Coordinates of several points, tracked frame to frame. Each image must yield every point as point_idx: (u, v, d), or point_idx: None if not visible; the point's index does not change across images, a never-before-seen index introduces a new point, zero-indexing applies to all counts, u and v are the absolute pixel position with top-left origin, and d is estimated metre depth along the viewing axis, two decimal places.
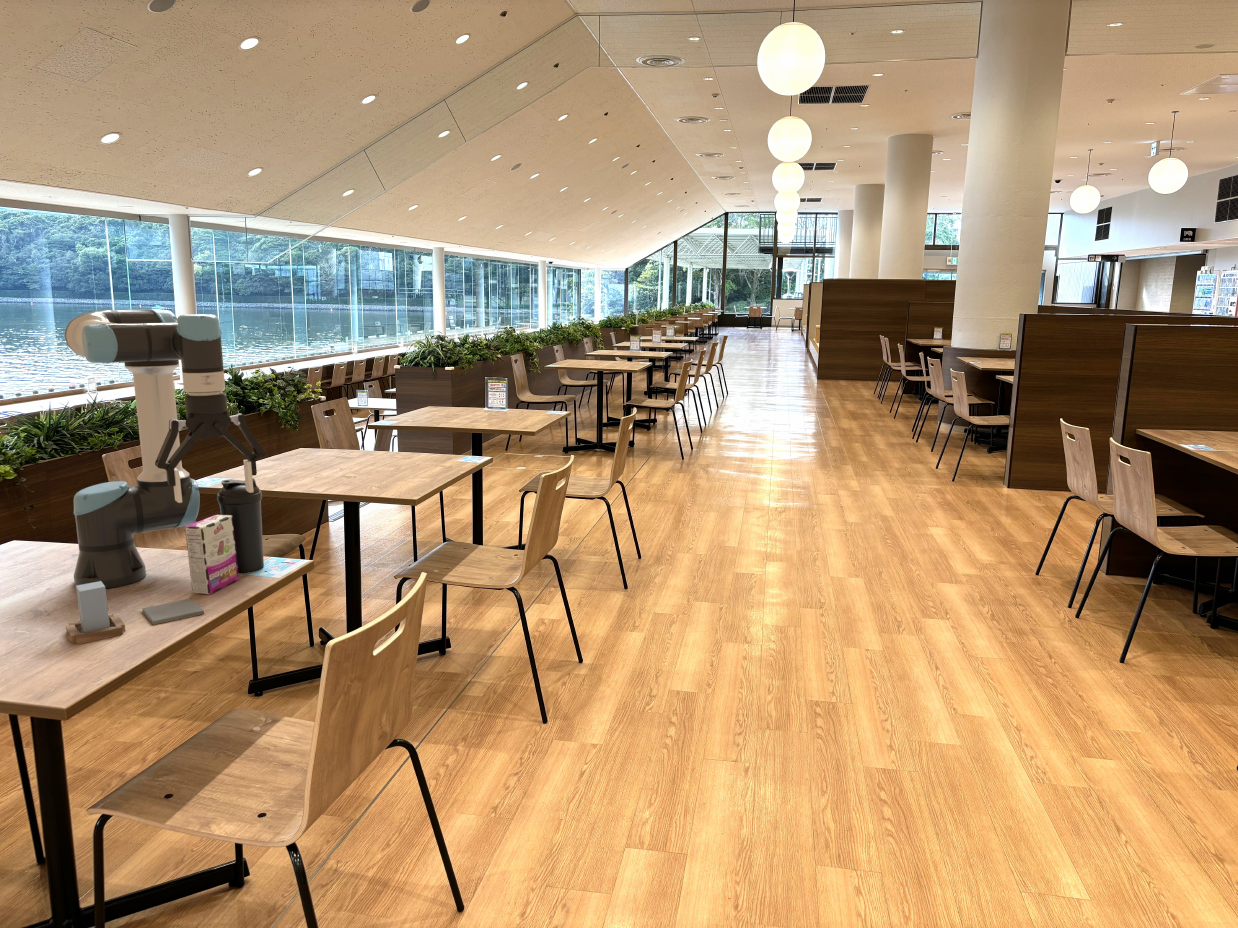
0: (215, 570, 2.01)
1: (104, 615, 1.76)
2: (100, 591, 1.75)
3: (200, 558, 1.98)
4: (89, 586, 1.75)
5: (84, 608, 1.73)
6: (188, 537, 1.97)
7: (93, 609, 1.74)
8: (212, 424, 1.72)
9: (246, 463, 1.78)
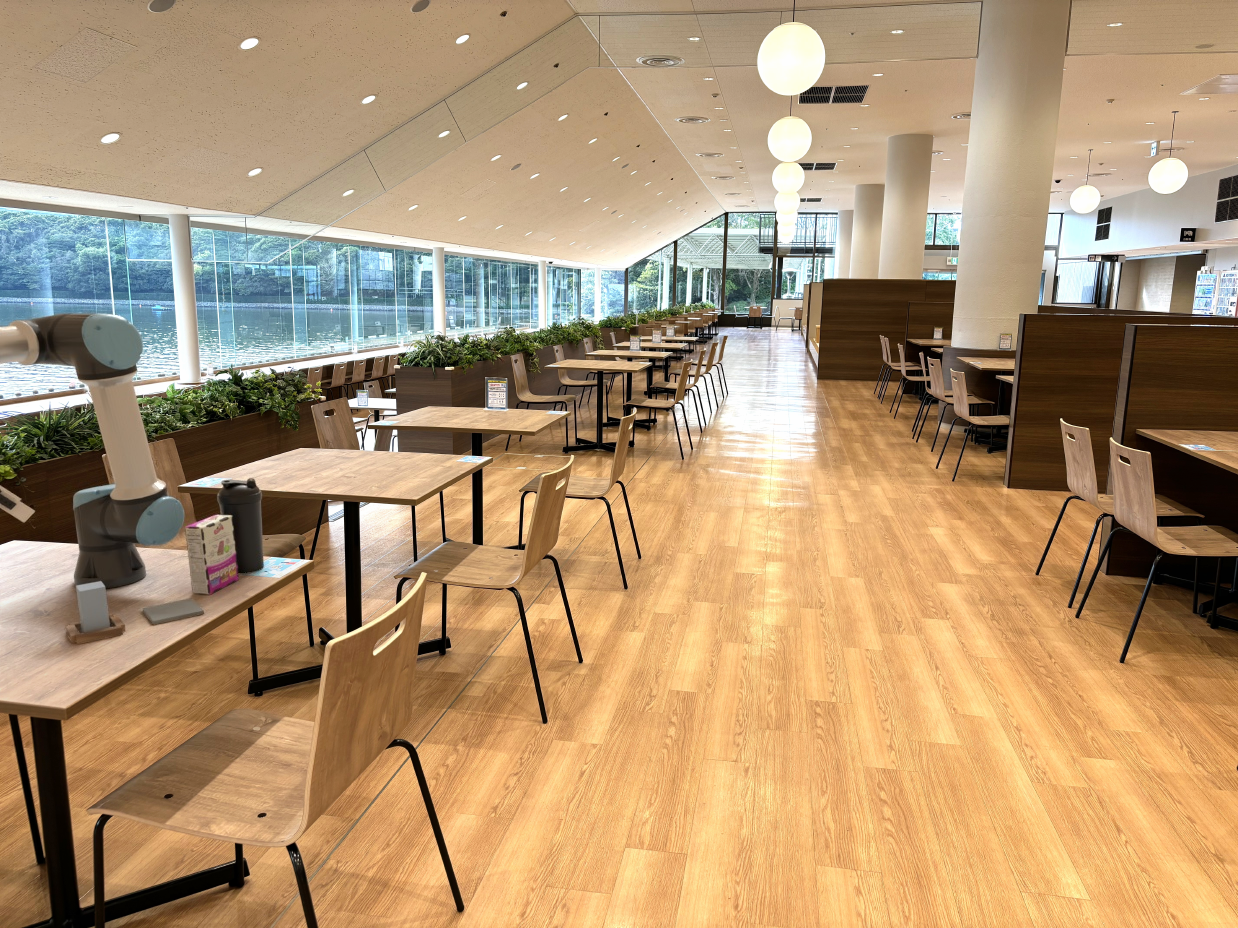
0: (215, 570, 2.01)
1: (104, 615, 1.76)
2: (100, 591, 1.75)
3: (200, 558, 1.98)
4: (89, 586, 1.75)
5: (84, 608, 1.73)
6: (188, 537, 1.97)
7: (93, 609, 1.74)
8: None
9: None
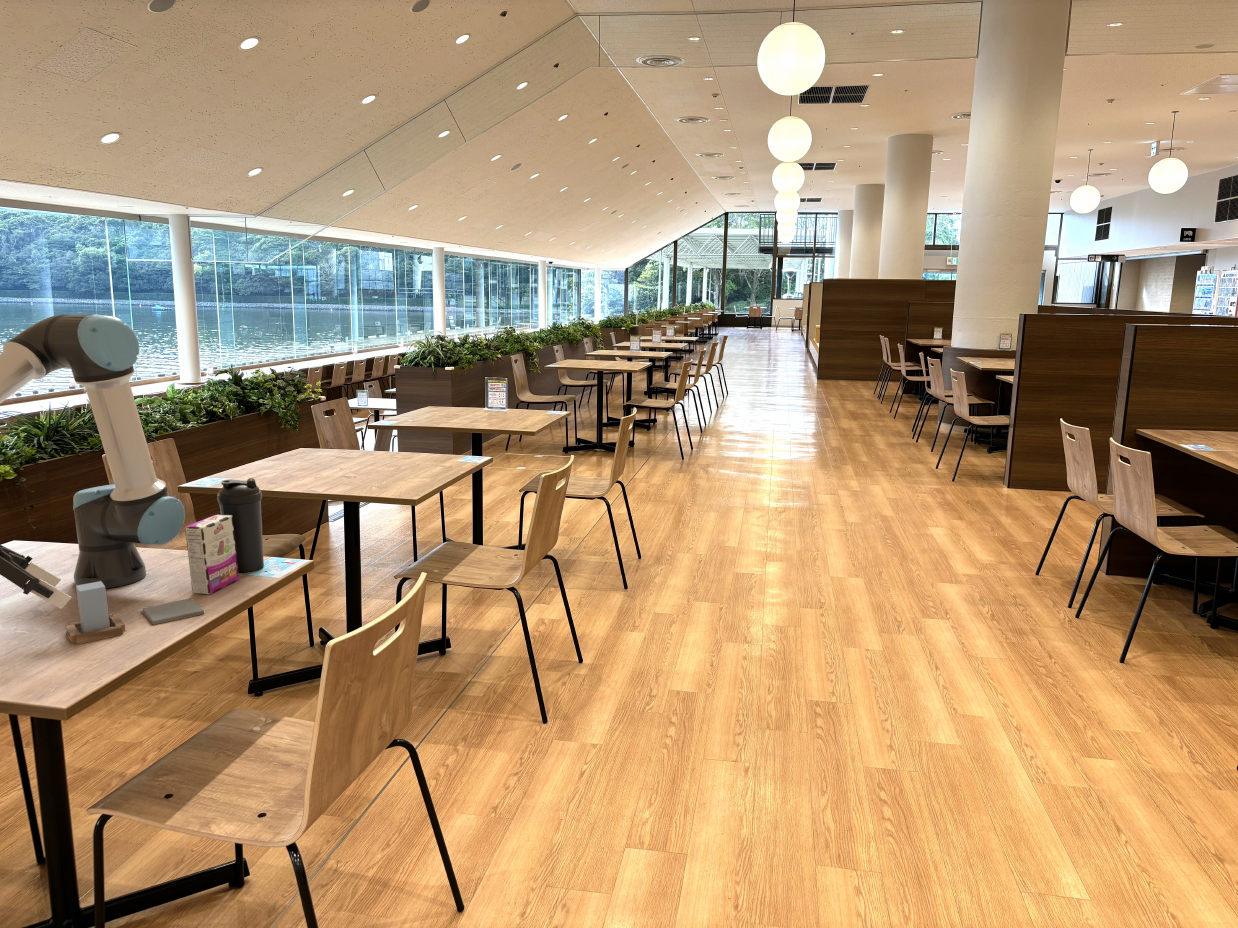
0: (215, 570, 2.01)
1: (104, 615, 1.76)
2: (100, 591, 1.75)
3: (200, 558, 1.98)
4: (89, 586, 1.75)
5: (84, 608, 1.73)
6: (188, 537, 1.97)
7: (93, 609, 1.74)
8: None
9: None
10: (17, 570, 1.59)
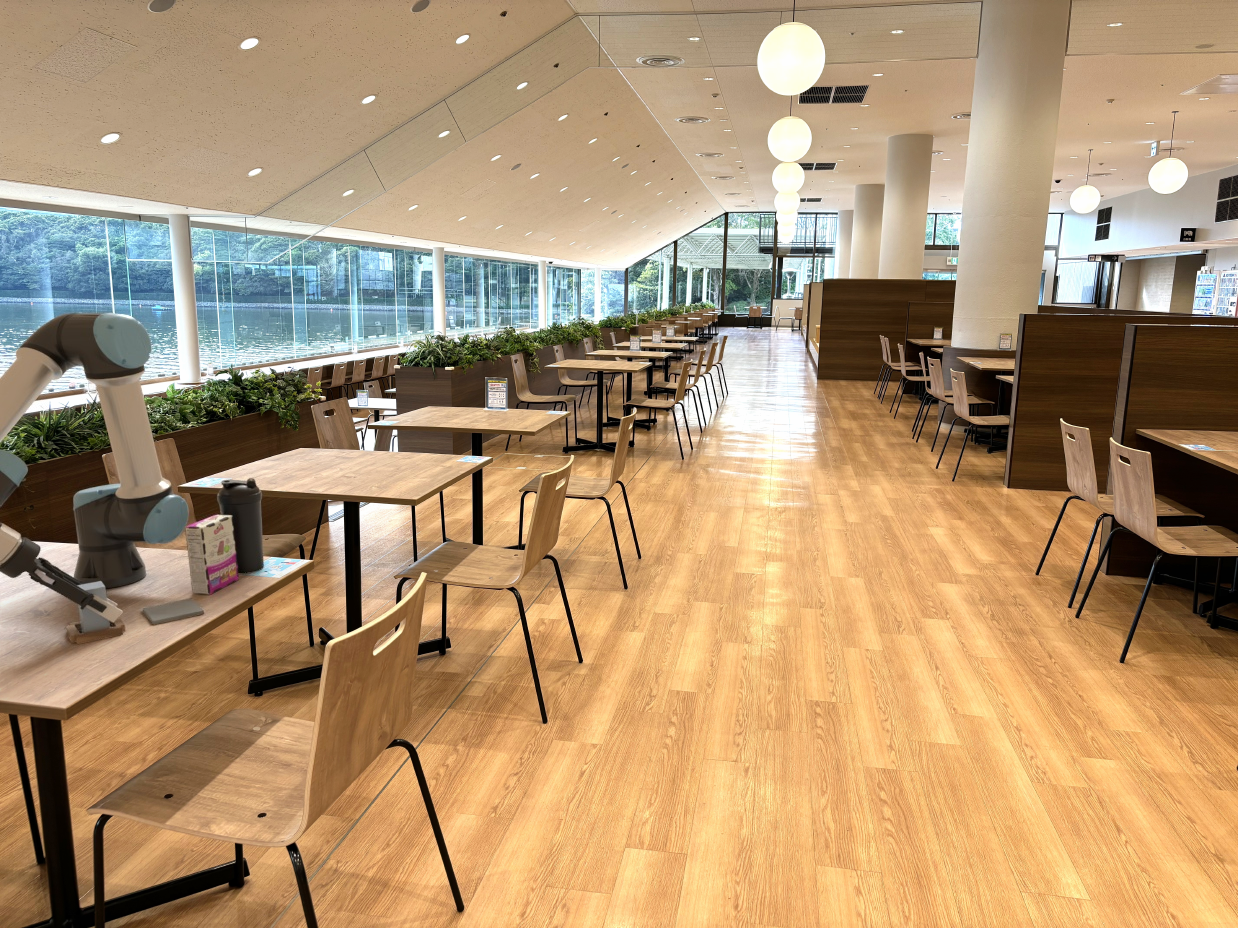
0: (215, 570, 2.01)
1: None
2: (100, 591, 1.75)
3: (200, 558, 1.98)
4: (89, 586, 1.75)
5: (84, 608, 1.73)
6: (188, 537, 1.97)
7: None
8: None
9: None
10: (75, 588, 1.68)
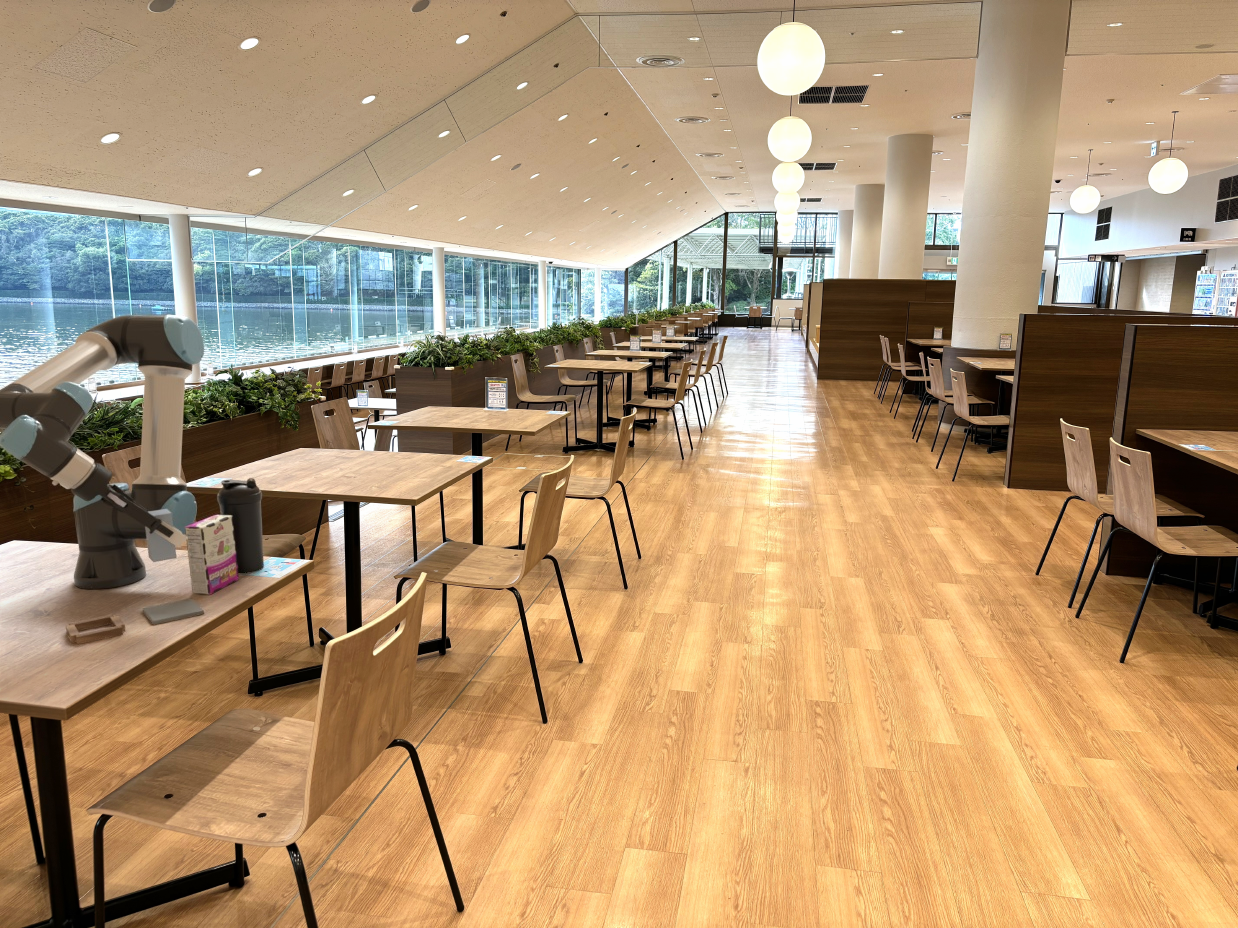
0: (215, 570, 2.01)
1: None
2: (166, 517, 1.82)
3: (200, 558, 1.98)
4: (156, 513, 1.82)
5: (152, 533, 1.81)
6: (188, 537, 1.97)
7: None
8: None
9: None
10: (145, 512, 1.76)
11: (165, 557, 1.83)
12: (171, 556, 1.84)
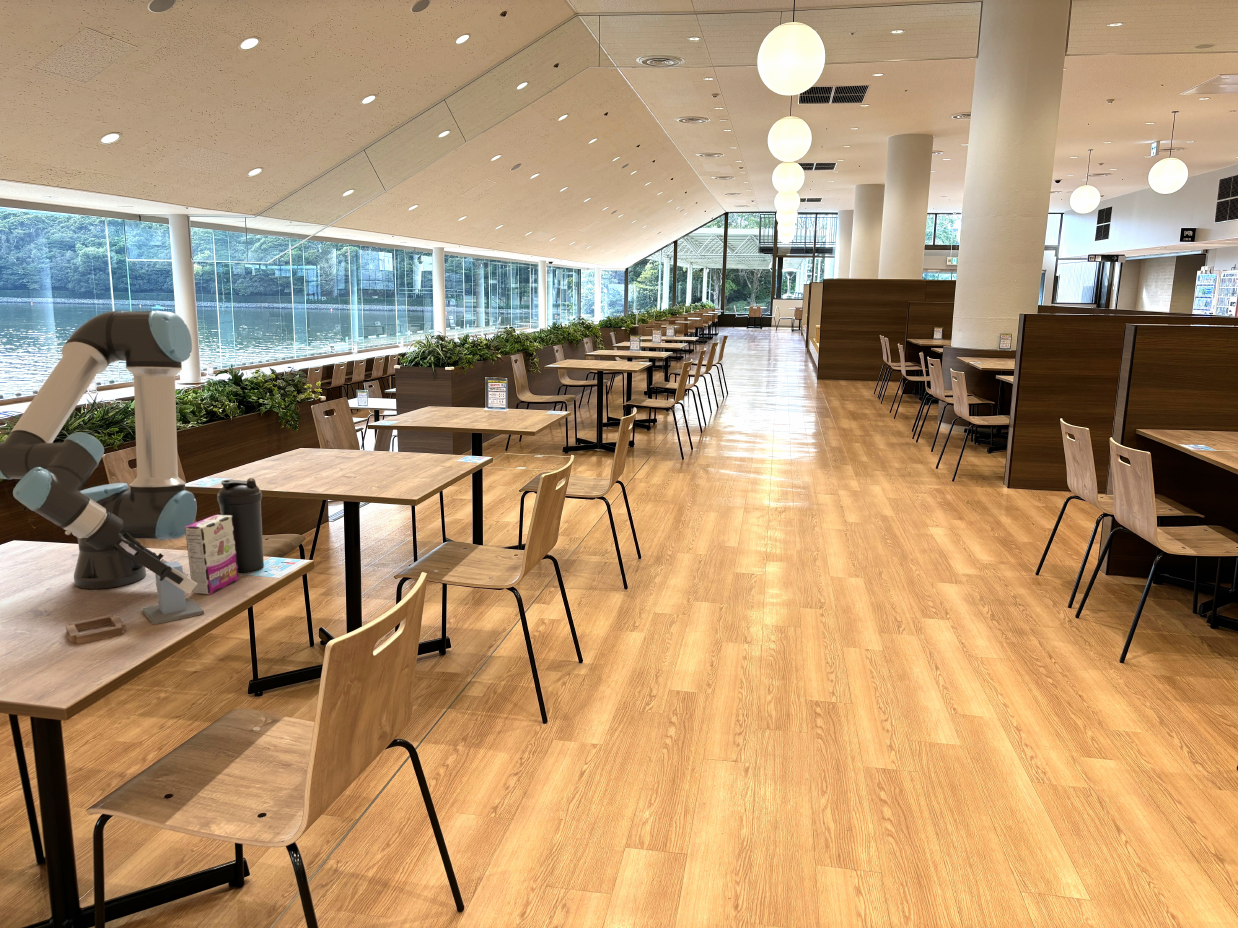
0: (215, 570, 2.01)
1: (181, 593, 1.87)
2: (177, 570, 1.85)
3: (200, 558, 1.98)
4: None
5: (163, 585, 1.84)
6: (188, 537, 1.97)
7: (171, 587, 1.85)
8: None
9: None
10: (155, 560, 1.78)
11: (175, 609, 1.86)
12: (181, 608, 1.87)
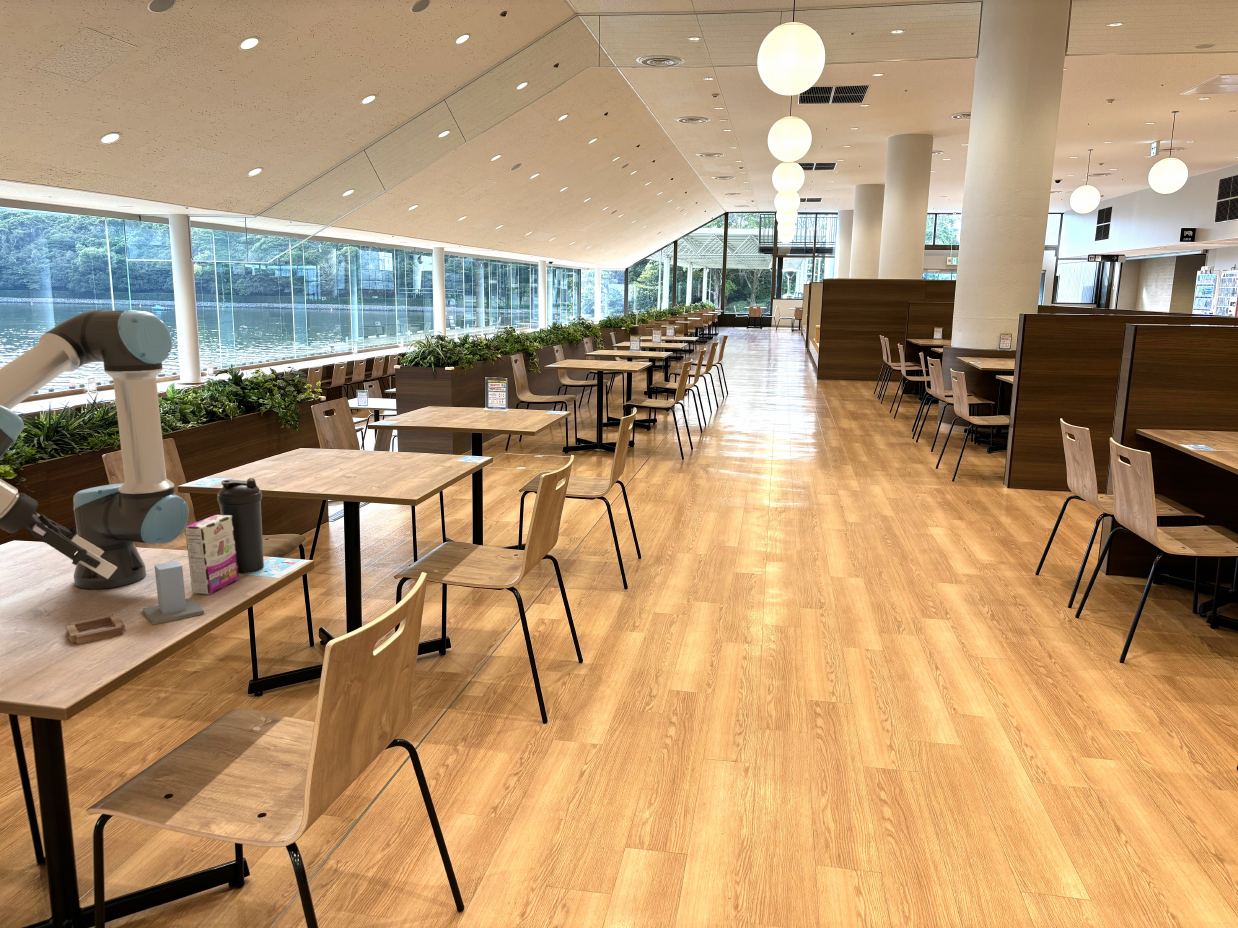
0: (215, 570, 2.01)
1: (181, 593, 1.87)
2: (177, 570, 1.85)
3: (200, 558, 1.98)
4: (167, 566, 1.86)
5: (163, 585, 1.84)
6: (188, 537, 1.97)
7: (171, 587, 1.85)
8: None
9: None
10: (66, 541, 1.65)
11: (175, 609, 1.86)
12: (181, 608, 1.87)
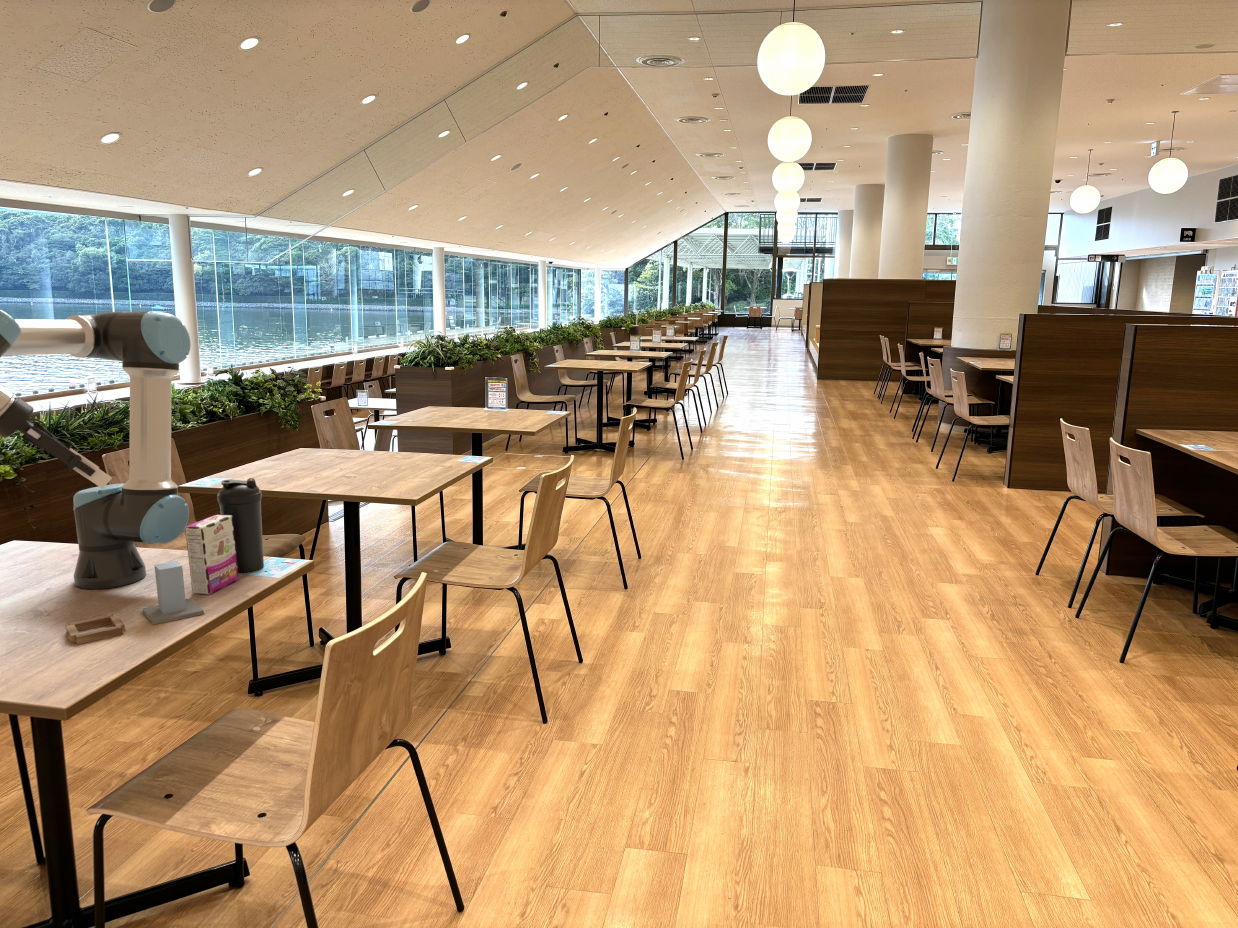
0: (215, 570, 2.01)
1: (181, 593, 1.87)
2: (177, 570, 1.85)
3: (200, 558, 1.98)
4: (167, 566, 1.86)
5: (163, 585, 1.84)
6: (188, 537, 1.97)
7: (171, 587, 1.85)
8: None
9: None
10: (61, 446, 1.63)
11: (175, 609, 1.86)
12: (181, 608, 1.87)
